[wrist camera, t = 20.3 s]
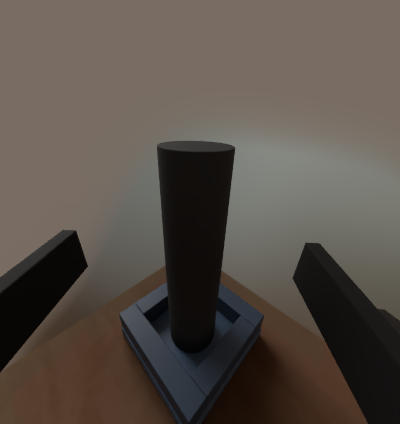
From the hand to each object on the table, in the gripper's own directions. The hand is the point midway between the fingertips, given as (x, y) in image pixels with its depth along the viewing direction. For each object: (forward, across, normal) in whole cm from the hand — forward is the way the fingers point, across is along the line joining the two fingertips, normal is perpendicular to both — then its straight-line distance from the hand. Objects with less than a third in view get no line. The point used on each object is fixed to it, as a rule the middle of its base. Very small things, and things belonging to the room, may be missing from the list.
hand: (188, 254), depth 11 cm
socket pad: (+2, 0, -11) cm, 11 cm away
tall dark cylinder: (+2, 0, -10) cm, 10 cm away
